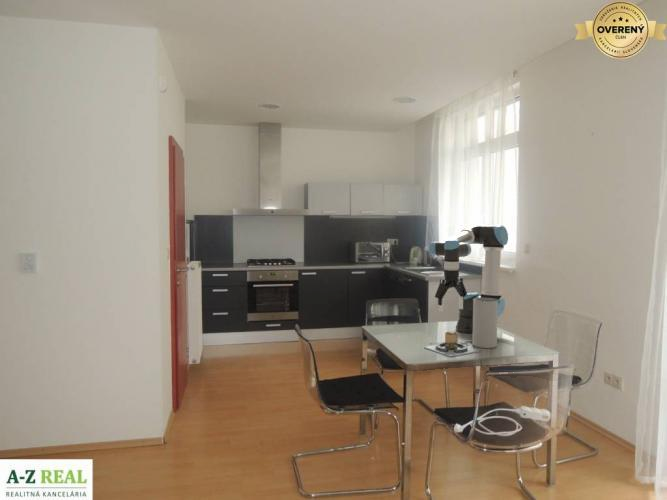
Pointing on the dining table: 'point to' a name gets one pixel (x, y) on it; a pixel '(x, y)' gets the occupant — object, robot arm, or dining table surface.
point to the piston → (451, 340)
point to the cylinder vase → (485, 322)
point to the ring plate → (451, 351)
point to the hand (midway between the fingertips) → (451, 310)
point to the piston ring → (461, 350)
